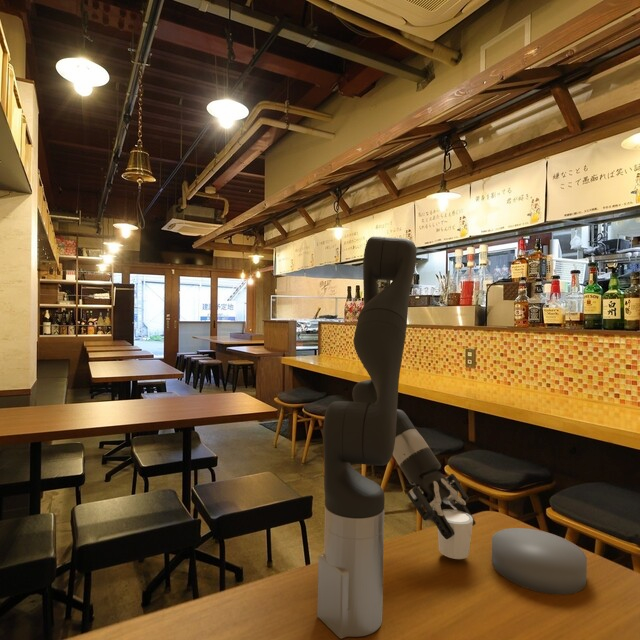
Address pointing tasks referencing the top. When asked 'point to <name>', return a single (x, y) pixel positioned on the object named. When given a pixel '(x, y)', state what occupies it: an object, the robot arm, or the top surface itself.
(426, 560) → the top surface
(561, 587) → the stand
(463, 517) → the white cup
